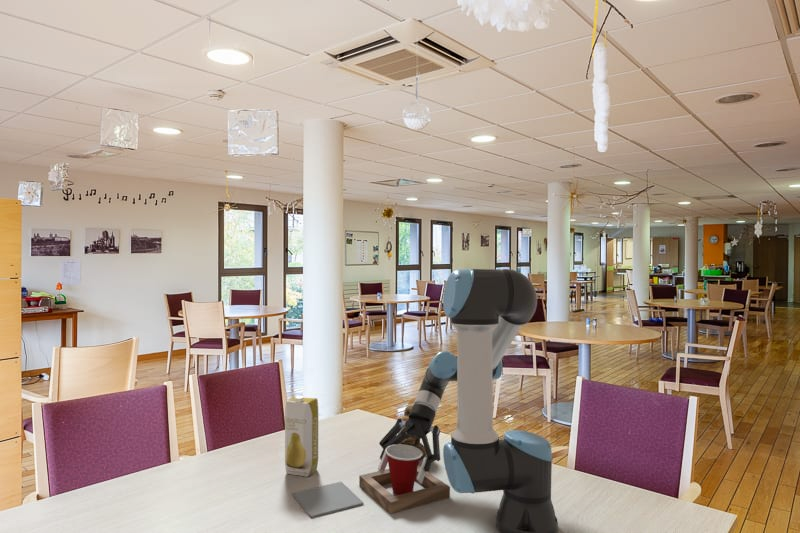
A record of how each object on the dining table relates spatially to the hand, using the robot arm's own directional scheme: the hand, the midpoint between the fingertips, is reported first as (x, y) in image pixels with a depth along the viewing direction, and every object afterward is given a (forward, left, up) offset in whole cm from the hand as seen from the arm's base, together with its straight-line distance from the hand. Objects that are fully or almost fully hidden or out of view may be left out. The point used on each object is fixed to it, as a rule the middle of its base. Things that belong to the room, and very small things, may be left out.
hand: (399, 476), depth 149 cm
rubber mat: (+7, +19, -5) cm, 21 cm away
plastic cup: (+1, -2, -5) cm, 6 cm away
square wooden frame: (+1, -2, -5) cm, 6 cm away
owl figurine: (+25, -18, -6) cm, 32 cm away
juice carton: (+28, +19, -5) cm, 34 cm away
